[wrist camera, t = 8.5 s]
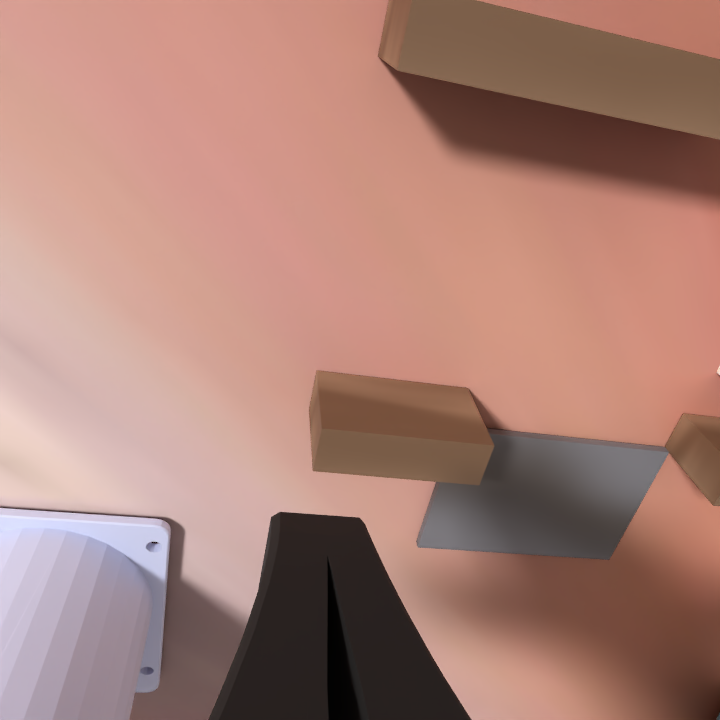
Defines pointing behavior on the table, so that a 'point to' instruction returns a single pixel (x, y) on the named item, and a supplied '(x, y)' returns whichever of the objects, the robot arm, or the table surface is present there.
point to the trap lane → (455, 404)
